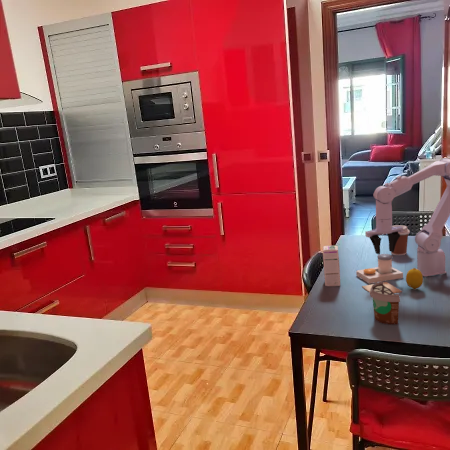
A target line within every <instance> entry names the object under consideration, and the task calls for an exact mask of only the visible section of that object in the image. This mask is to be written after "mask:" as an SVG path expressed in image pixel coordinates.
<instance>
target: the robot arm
mask: <svg viewBox="0 0 450 450" xmlns="http://www.w3.org/2000/svg"><path fill="white" fill-rule="evenodd" d="M433 176H438V177H439V176H441V177H442V179H444V181H445V183H446V187H445V190H444V191H443V193H442V196H441V198H440V200H439V201H438V203H437V205H436V207H435V209H434V212H433V213H432V214H431V217H430V218H429V221H428V222H427V224H425V225H424V226H423V227H422V228H421V229H420V231H418V232H417V233H416V234H415V237H414V241H415V243H416V244H417V245H418V246H417V249H416V251H417V253H416V254H417V255H416V258H417V261H416V263H417V267H416V269H418V270H419V271H420V272H421V273H422V276H423V277H424V278H425V277H431V276H436V275H443V274H446V273H447V271H446V254H445V252H444V250H443V249H442V248H441V243H442V239H443V236H444V235H443V229H444V227H445V225H446V223H447V221H448V219H449V217H450V158H449V157H443V158H441V159H440V160H436V161H433V162H432V163H430V164H429V165H427V166H425V167H423V168H422V169H420V170H418V171H416V172H415V173H413V174H411V175H409V176H406V175H402V176H401V175H398V176H396V179H394V180H392V181H389V182H386V183H384V185H380V186H378V187H376V188H375V190H374V192H373V194H372V195H373V198H374V199H375V228H374V229H370V230H367V231H365V237H366V238H369V240H370V241H371V243H372V246H373V248H374V252H375V254H377V255H380V254H381V242H382V238H381V237H380V236H381V235H382V236H383V235H387V239H388V250H389V252H390V253H391V252H394V249H395V245H396V243H397V240H398V239H399V237H400V234H399V233H398V232H403V227H401V226H398V227H392V226H393V207H392V205H393V204H392V202H393V200H394V198H396V197H398V196H400V195H403V194H404V193H407V192H408V191H411V190H412V187H413V186H414V185H416V184H418V183H420V182H422V181H424V180H426V179H429V178H431V177H433Z"/></svg>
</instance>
